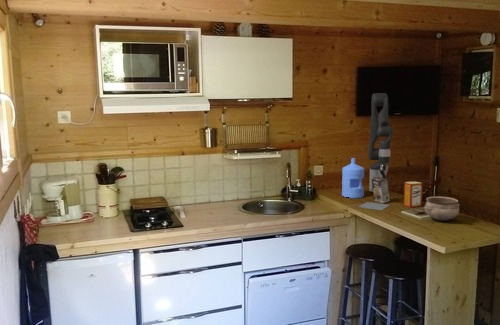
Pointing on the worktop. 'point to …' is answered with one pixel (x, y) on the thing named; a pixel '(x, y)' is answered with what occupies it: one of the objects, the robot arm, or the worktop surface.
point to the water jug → (352, 180)
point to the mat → (374, 206)
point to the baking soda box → (413, 194)
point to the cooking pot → (442, 208)
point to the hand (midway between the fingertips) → (383, 180)
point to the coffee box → (380, 189)
